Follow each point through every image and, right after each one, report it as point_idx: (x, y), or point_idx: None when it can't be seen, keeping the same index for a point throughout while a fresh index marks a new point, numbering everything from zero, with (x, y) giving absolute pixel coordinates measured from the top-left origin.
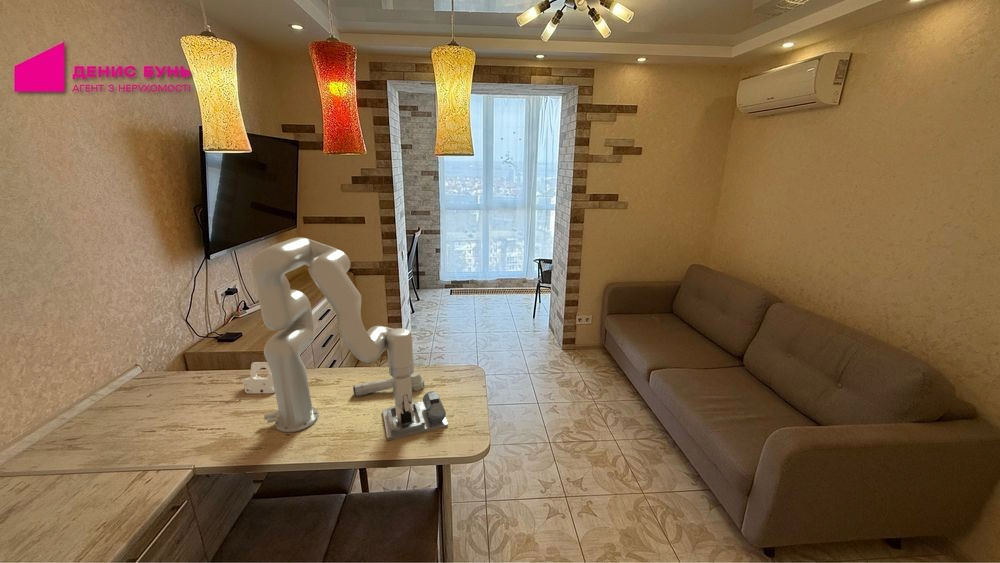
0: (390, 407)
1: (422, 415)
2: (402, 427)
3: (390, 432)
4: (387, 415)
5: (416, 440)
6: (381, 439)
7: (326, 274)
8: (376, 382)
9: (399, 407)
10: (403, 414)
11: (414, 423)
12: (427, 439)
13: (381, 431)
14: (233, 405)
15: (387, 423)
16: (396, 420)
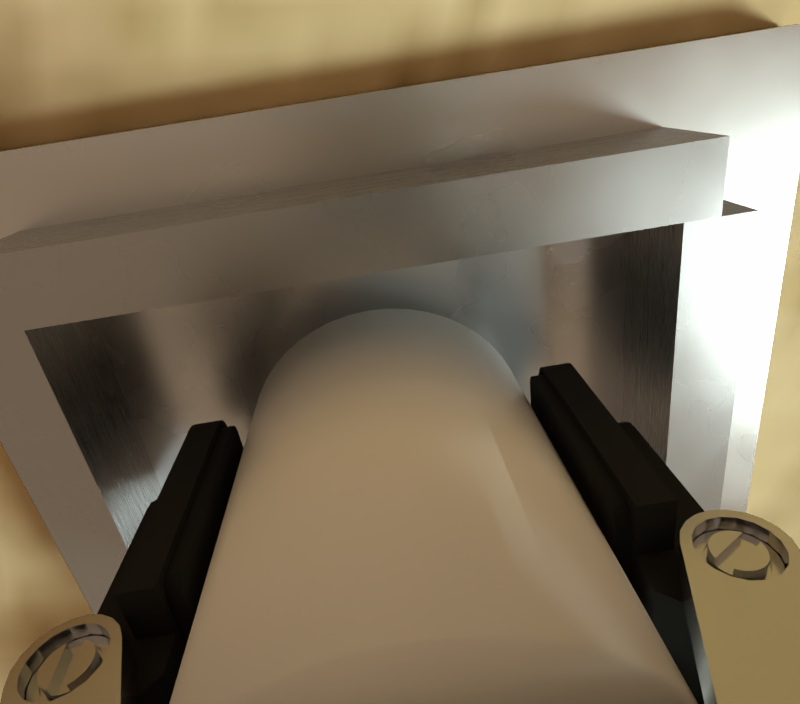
0: (730, 216)
1: None
2: (46, 456)
3: (104, 211)
4: (605, 134)
5: (15, 524)
6: (11, 39)
7: None
8: None
9: (174, 689)
10: (117, 622)
11: None
12: (39, 620)
13: (236, 29)
14: None
15: (368, 145)
16: (366, 314)
